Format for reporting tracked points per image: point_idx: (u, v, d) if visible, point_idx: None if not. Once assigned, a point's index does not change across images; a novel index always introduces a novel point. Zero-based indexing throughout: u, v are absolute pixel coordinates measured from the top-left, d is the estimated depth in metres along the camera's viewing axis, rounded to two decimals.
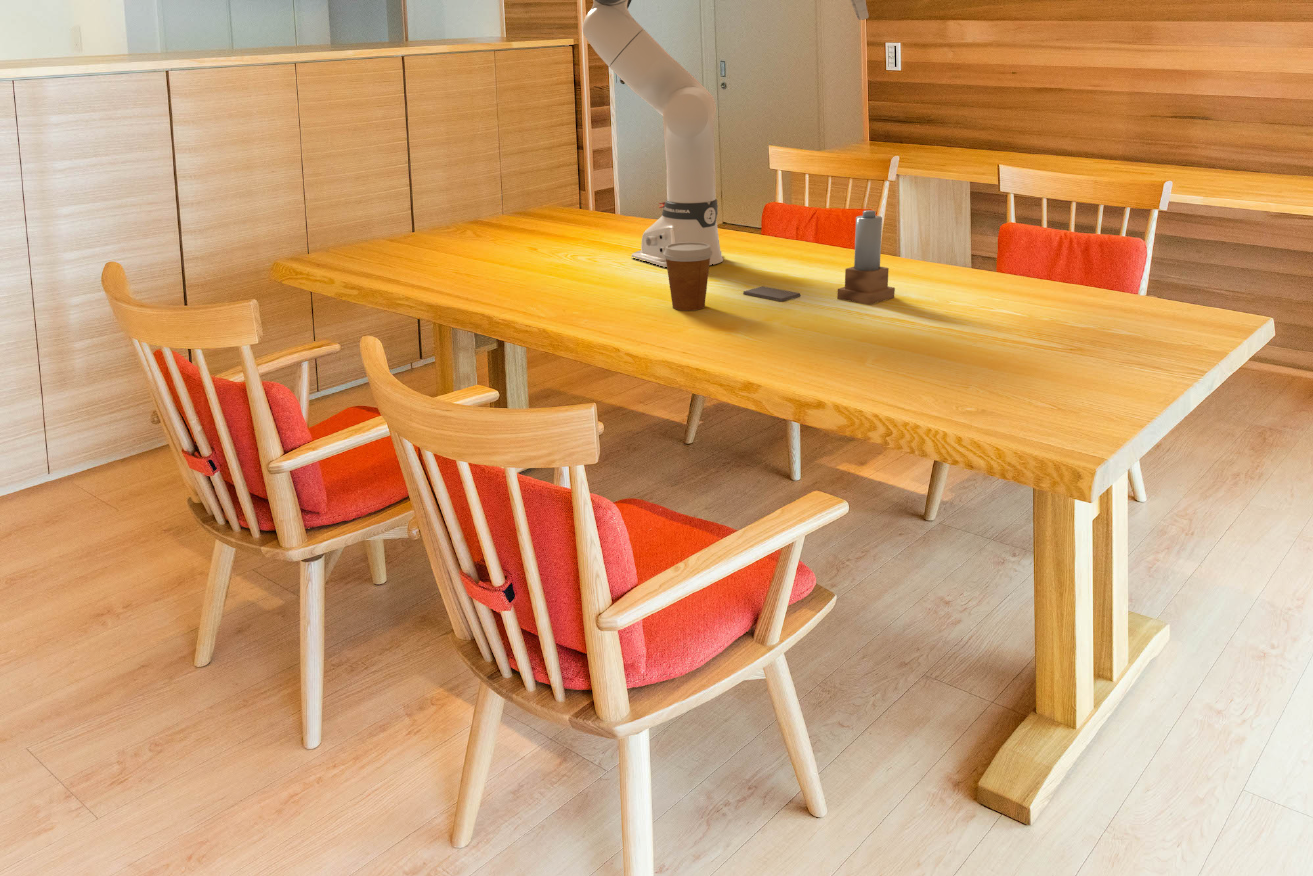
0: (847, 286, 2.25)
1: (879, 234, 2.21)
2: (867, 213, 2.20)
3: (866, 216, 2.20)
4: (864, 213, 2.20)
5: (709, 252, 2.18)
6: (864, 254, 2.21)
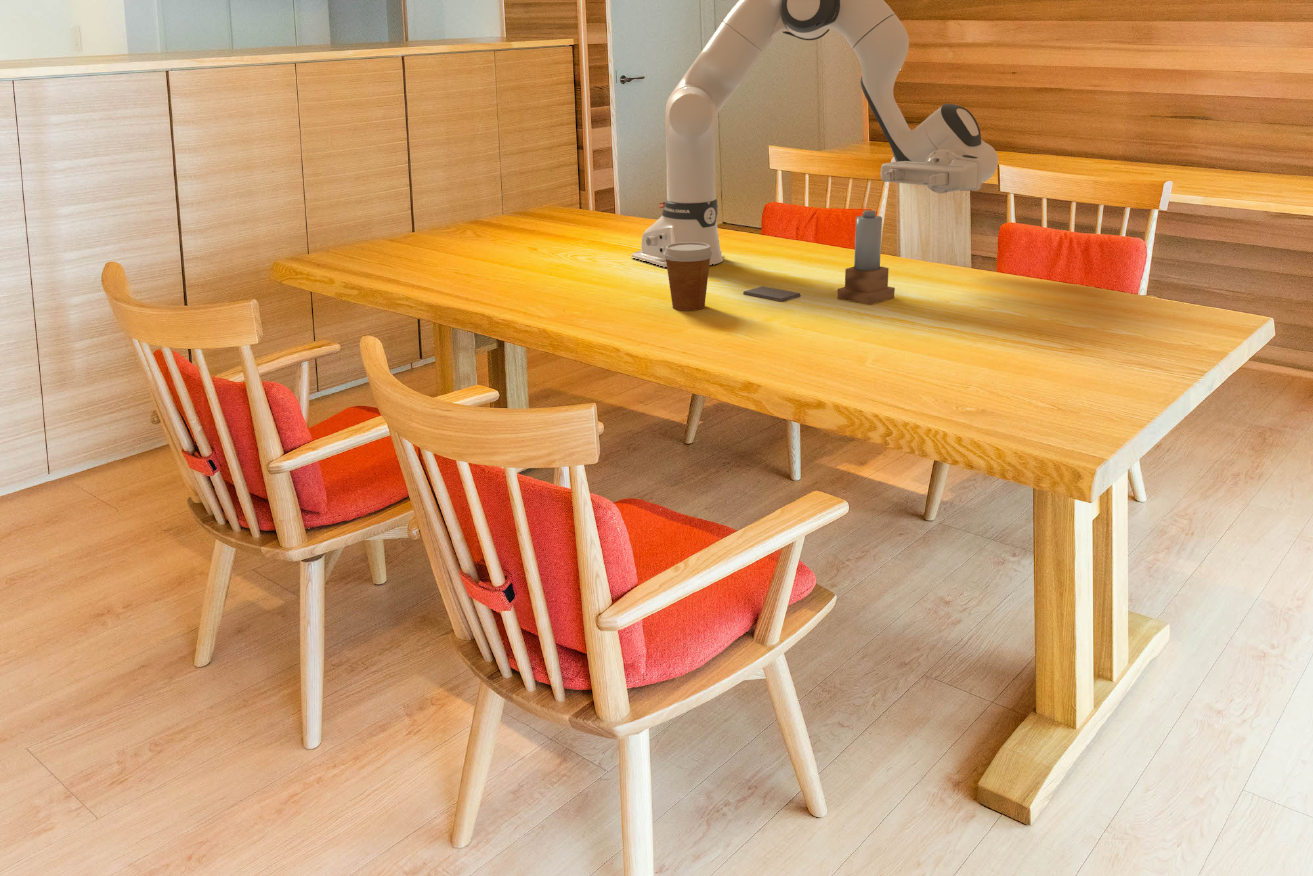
0: (847, 286, 2.25)
1: (879, 234, 2.21)
2: (867, 213, 2.20)
3: (866, 216, 2.20)
4: (864, 213, 2.20)
5: (709, 252, 2.18)
6: (864, 254, 2.21)
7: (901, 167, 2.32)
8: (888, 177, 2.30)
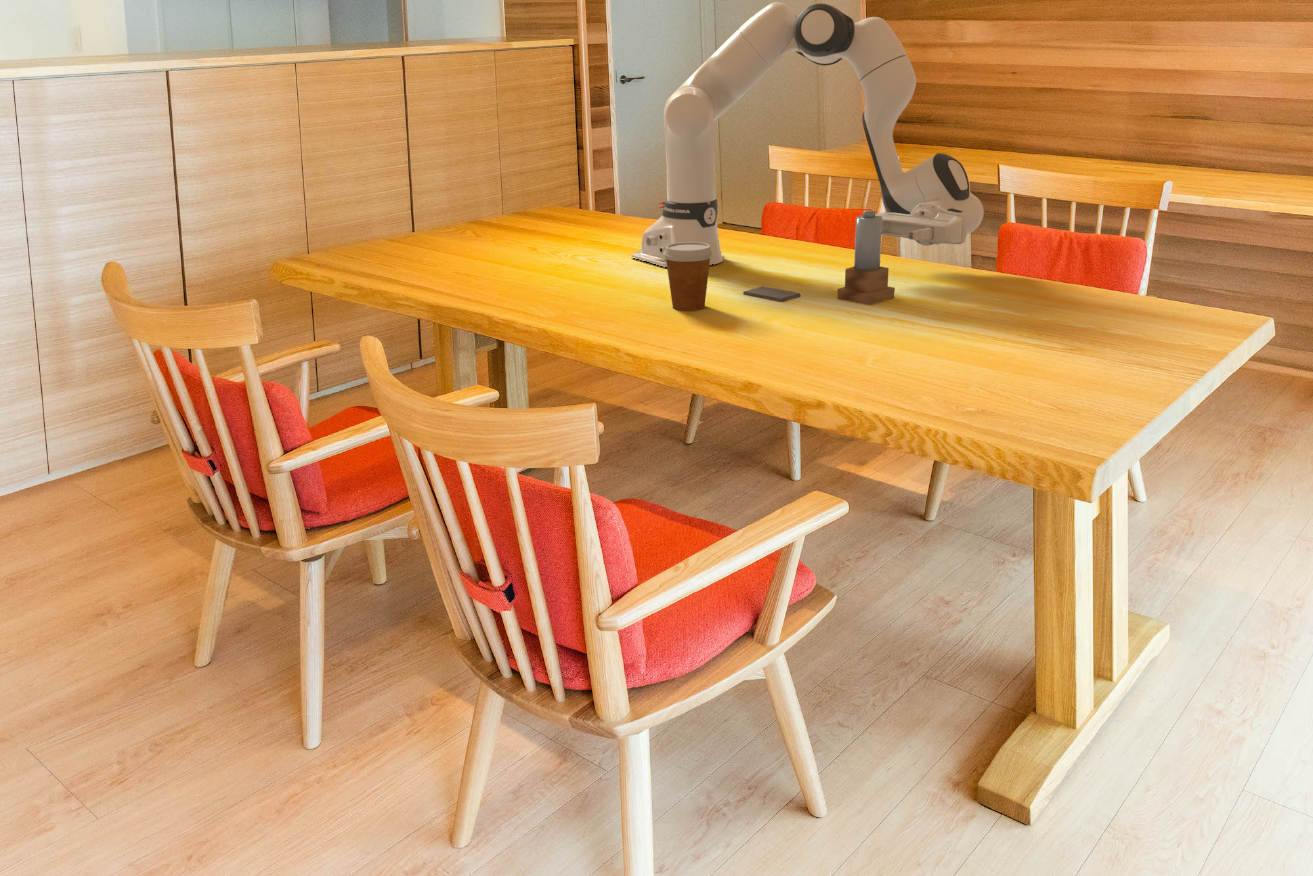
0: (847, 286, 2.25)
1: (879, 234, 2.21)
2: (867, 213, 2.20)
3: (866, 216, 2.20)
4: (864, 213, 2.20)
5: (709, 252, 2.18)
6: (864, 254, 2.21)
7: (886, 220, 2.33)
8: None
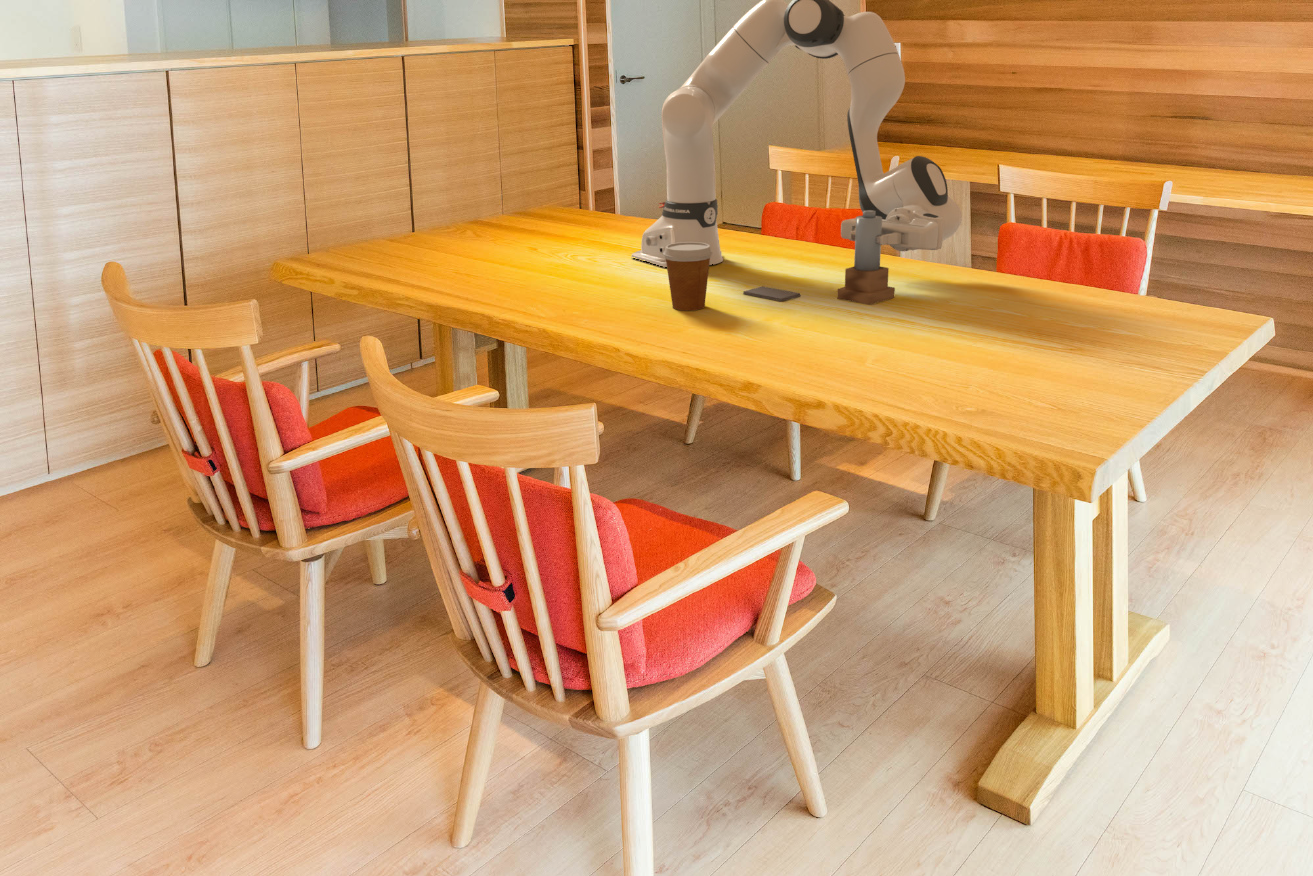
0: (847, 286, 2.25)
1: (879, 234, 2.21)
2: (867, 213, 2.20)
3: (866, 216, 2.20)
4: (864, 213, 2.20)
5: (709, 252, 2.18)
6: (864, 254, 2.21)
7: None
8: (853, 237, 2.24)
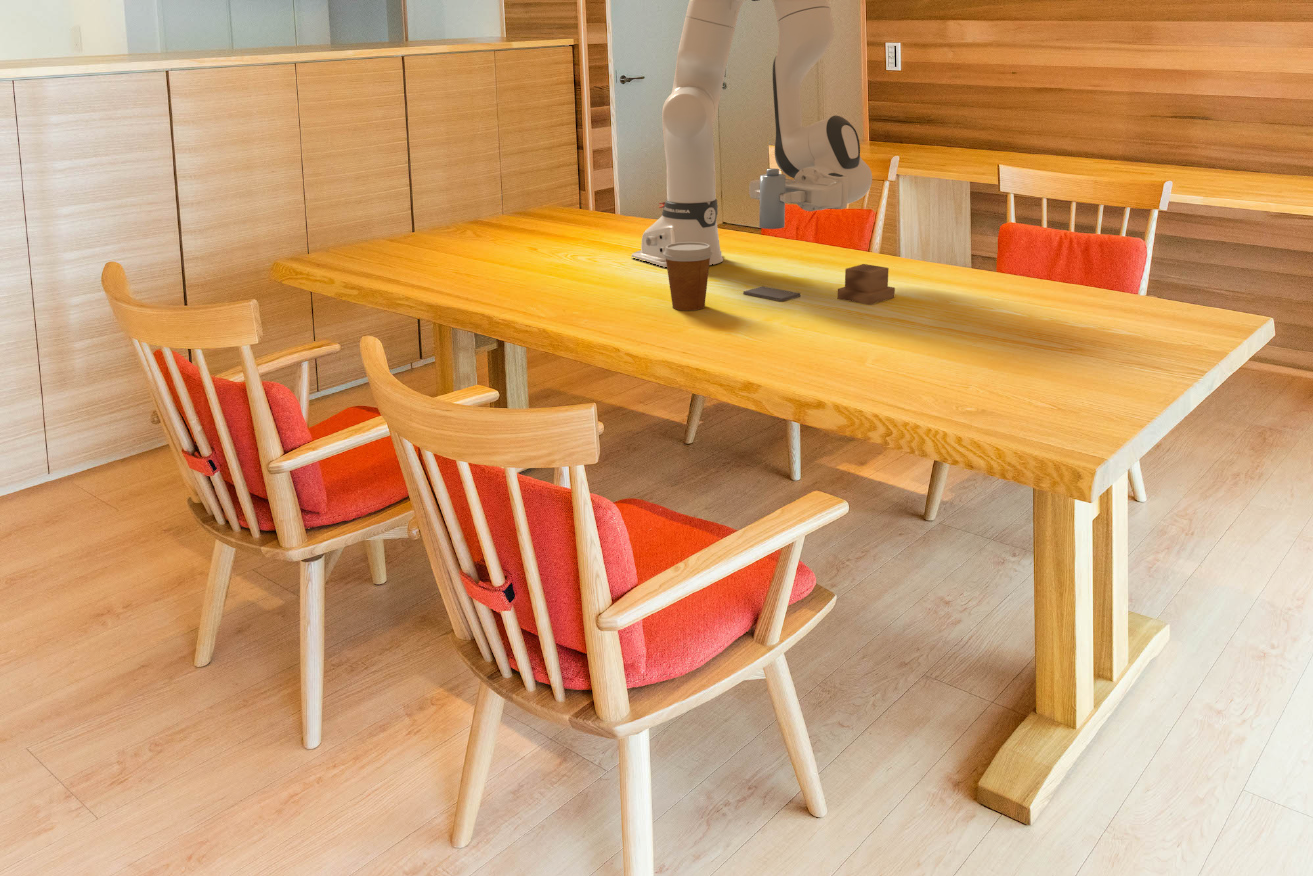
0: (847, 286, 2.25)
1: (783, 192, 2.22)
2: (770, 171, 2.21)
3: (769, 174, 2.22)
4: (768, 171, 2.22)
5: (709, 252, 2.18)
6: (767, 211, 2.23)
7: None
8: (758, 195, 2.25)
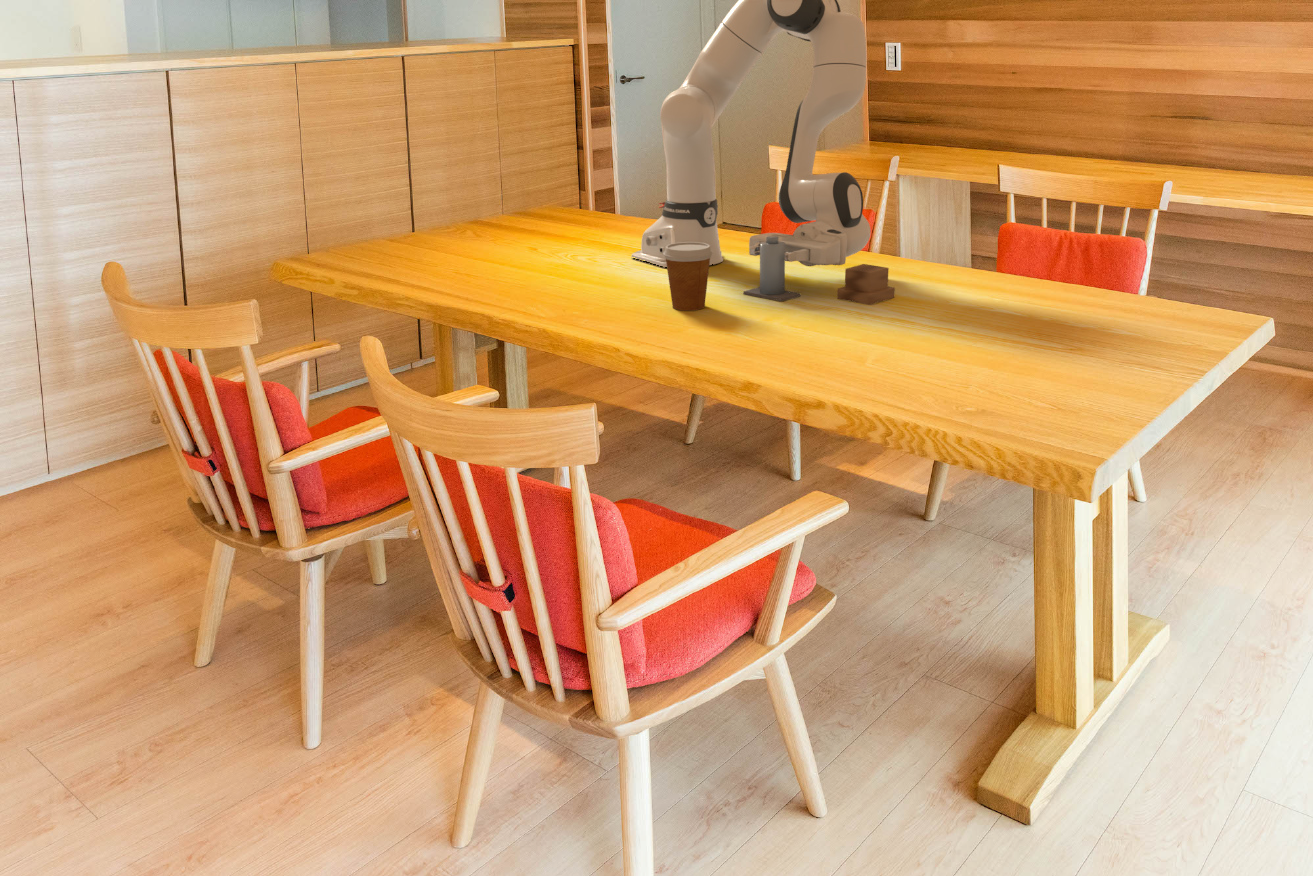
0: (847, 286, 2.25)
1: (782, 259, 2.27)
2: (770, 239, 2.26)
3: (769, 242, 2.26)
4: (767, 239, 2.26)
5: (709, 252, 2.18)
6: (768, 278, 2.27)
7: None
8: (753, 251, 2.30)
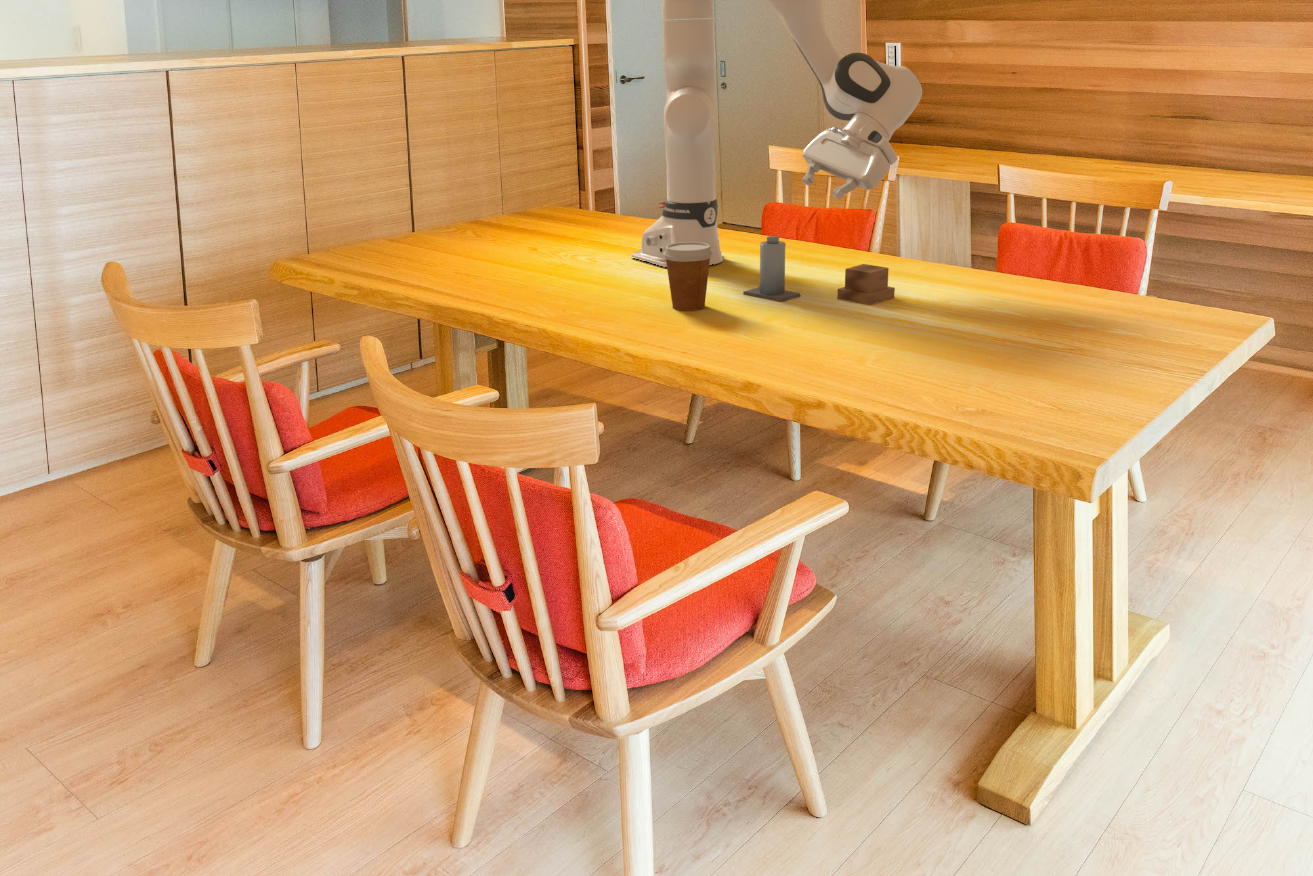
0: (847, 286, 2.25)
1: (783, 259, 2.27)
2: (770, 239, 2.26)
3: (769, 242, 2.26)
4: (768, 239, 2.26)
5: (709, 252, 2.18)
6: (768, 278, 2.27)
7: (817, 162, 2.34)
8: (806, 183, 2.35)
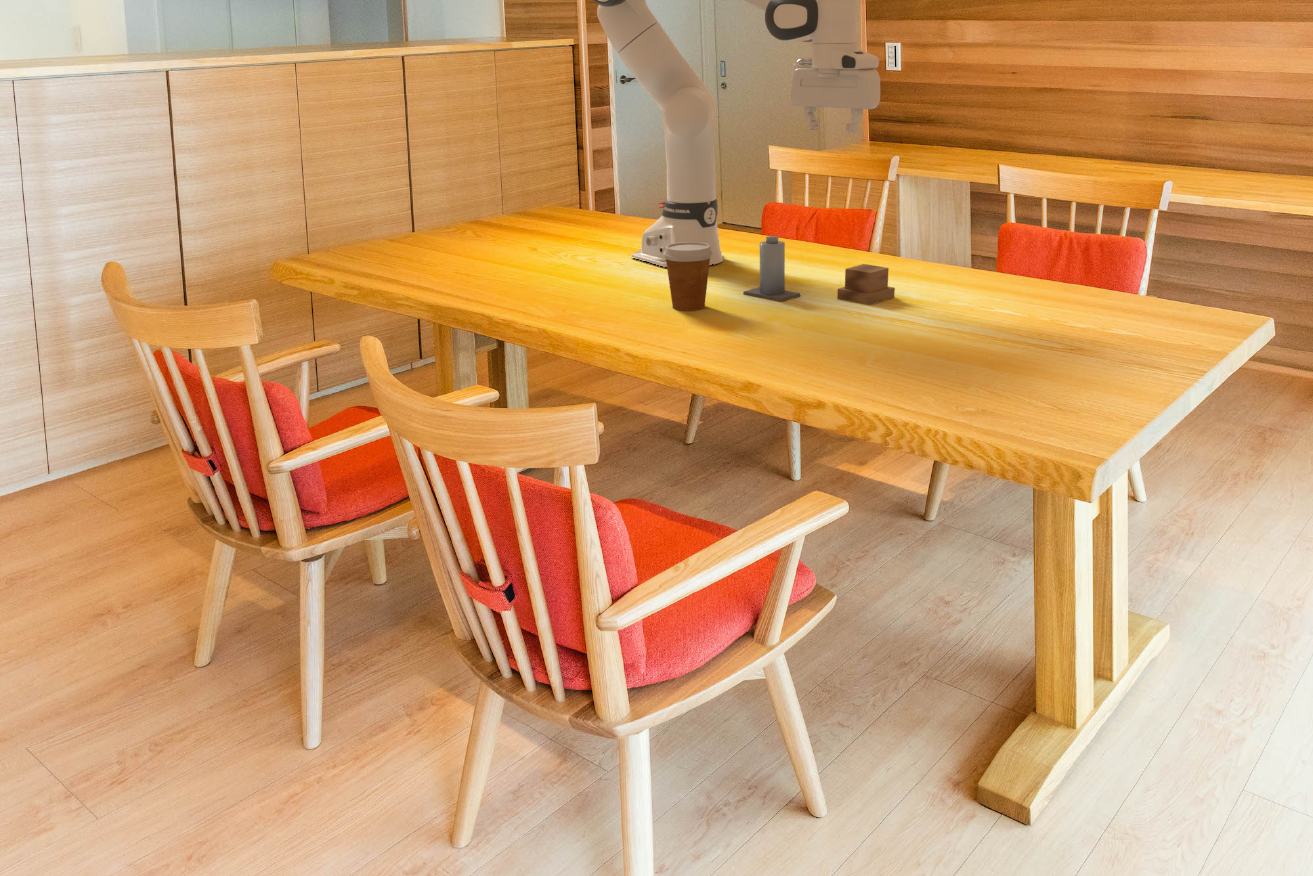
0: (847, 286, 2.25)
1: (782, 259, 2.27)
2: (770, 239, 2.26)
3: (769, 242, 2.26)
4: (767, 239, 2.26)
5: (709, 252, 2.18)
6: (768, 278, 2.27)
7: (810, 106, 2.30)
8: (815, 129, 2.32)
